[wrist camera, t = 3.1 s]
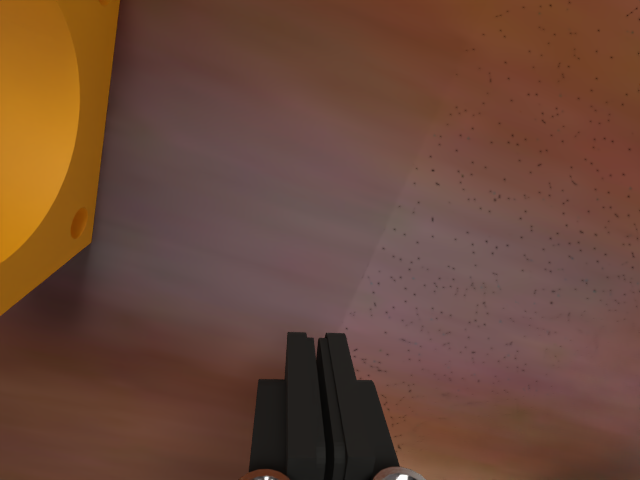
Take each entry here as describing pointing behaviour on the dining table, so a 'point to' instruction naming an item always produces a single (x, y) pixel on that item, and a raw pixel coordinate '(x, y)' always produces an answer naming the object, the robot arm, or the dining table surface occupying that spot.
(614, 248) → the dining table surface
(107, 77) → the pipe clamp
